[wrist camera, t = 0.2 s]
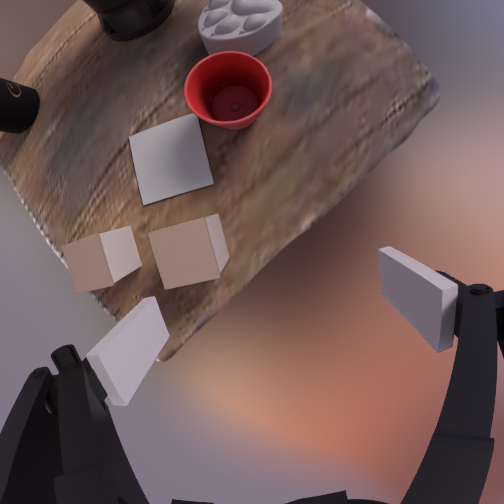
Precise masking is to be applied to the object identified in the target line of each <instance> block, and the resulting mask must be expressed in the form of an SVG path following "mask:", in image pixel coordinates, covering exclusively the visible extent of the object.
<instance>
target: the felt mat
mask: <svg viewBox="0 0 504 504" xmlns="http://www.w3.org/2000/svg"><path fill="white" fill-rule="evenodd" d="M129 141H130V146H131V151H132V156H133V161H134V166H135V171H136V176H137V180H138V185H139V189H140V193H141V197H142V202H143V205H147V204H150V203H153V202H156V201H159V200H162V199H165V198H168V197H172V196H175V195H178V194H181V193H185V192H188V191H191V190H195V189H198V188H202V187H205V186H209V185H212V184H214V182H213V178H212V174H211V170H210V166H209V162H208V158H207V154H206V149H205V145H204V141H203V137H202V133H201V129H200V124H199V120H198V117H197V116H196V115H195V114H194V113H192V114H189V115H186V116H183V117H180V118H177V119H174V120H171V121H169V122H166V123H163V124H160V125H158V126H155V127H152V128H150V129H147V130H145V131H142V132H140V133H138V134H135V135H133V136H130V137H129Z"/></svg>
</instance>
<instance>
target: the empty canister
mask: <svg viewBox="0 0 504 504" xmlns="http://www.w3.org/2000/svg"><path fill="white" fill-rule="evenodd" d="M148 235H149V239H150V242H151V246H152V249H153V253H154V256H155V259H156V263H157V266H158V269H159V272H160V276H161V279H162V282H163V285H164V288H165V290H166V289H171V288H176V287H180V286H185V285H190V284H194V283H199V282H204V281H208V280H213V279H217V278H221V274H220V273H221V271H222V270H223V268H224V266H225V264H226V263H227V261H228V259H229V258H230V257H229V253H228V249H227V246H226V242H225V238H224V234H223V230H222V226H221V223H220V219H219V215H218V214H214V215H210V216H206V217H202V218H199V219H195V220H191V221H188V222H184V223H181V224H177V225H173V226H170V227H166V228H163V229H159V230H156V231H153V232H149V233H148Z"/></svg>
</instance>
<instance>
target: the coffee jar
mask: <svg viewBox="0 0 504 504" xmlns="http://www.w3.org/2000/svg"><path fill="white" fill-rule="evenodd" d="M39 105H40V99H39V95H38V93H37V91H36V90H35V89H32V88H30V87H27V86H24V85H21V84H18V83H15V82H12V81H9V80H5V79H2V78H0V131H3V132H10V133H21V132H23V131H25V130H26V129H28V128H29V127H30V126H31V124H32V123H33V121H34V120H35V118H36V115H37V113H38V110H39Z"/></svg>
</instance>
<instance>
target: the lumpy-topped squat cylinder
mask: <svg viewBox="0 0 504 504" xmlns="http://www.w3.org/2000/svg"><path fill="white" fill-rule="evenodd" d="M281 23H282V4H281V3H280V2H279V1H278V0H211V1H210V3H208V4H207V5H206V6H205V7H204V9H203V11H202V13H201V15H200V17H199V19H198V31H199V34H200V36H201V39H202V41H203V43H204V45H205V48H206V50H207V52H208V54H209V55H212V54H215V53H219V52H225V51H237V52H242V53H246V54H249V55H251V56H254V55H256V54H258V53H259V52H261V51H262V50H264V49H265V48H266V47H268V46H269V45H270V44H271V43H272V42H274V41H275V40H276V39H277V38H278V37H279V35H280V33H281Z"/></svg>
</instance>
